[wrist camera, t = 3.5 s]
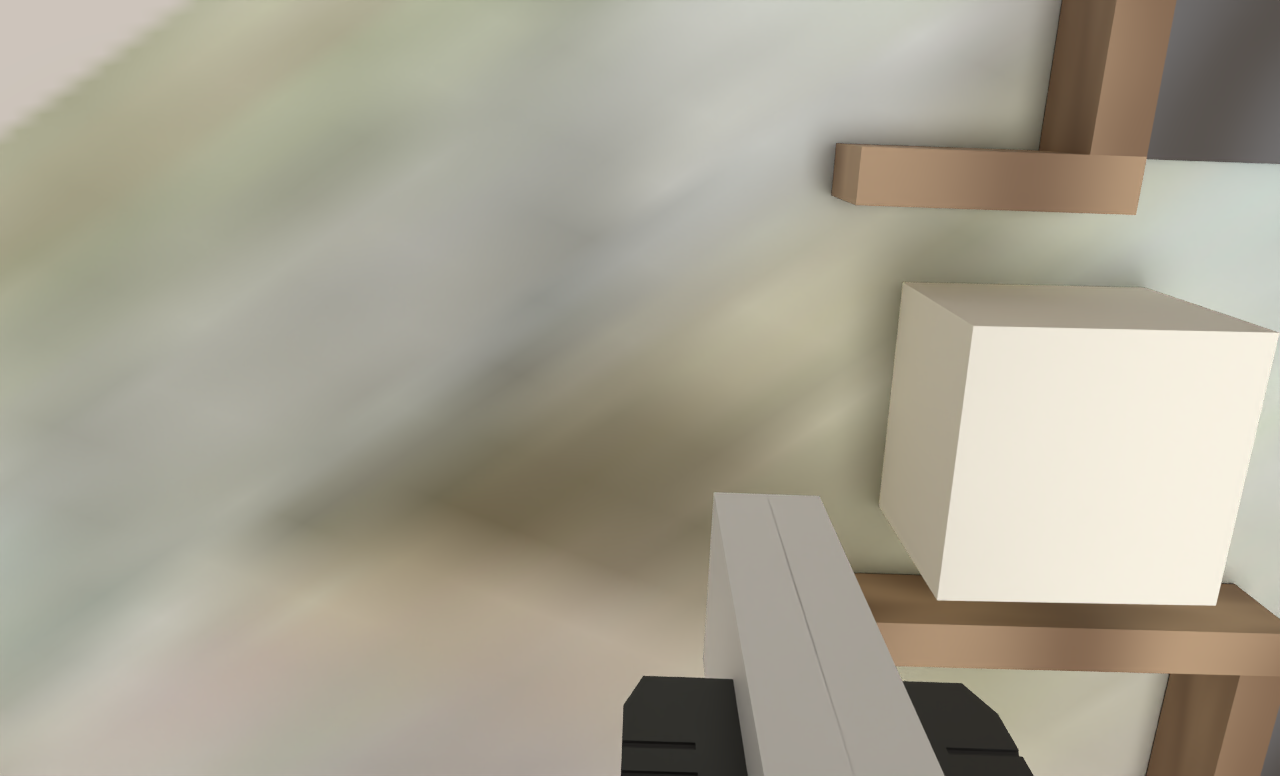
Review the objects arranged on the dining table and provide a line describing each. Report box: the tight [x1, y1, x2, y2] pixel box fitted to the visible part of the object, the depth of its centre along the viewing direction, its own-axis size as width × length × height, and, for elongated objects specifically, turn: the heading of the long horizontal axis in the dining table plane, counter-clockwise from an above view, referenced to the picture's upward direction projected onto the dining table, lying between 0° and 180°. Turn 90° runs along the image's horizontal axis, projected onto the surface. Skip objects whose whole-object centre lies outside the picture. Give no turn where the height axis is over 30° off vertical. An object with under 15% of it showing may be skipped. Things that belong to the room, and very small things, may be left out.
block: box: [879, 282, 1279, 606], centre depth 21 cm, size 6×6×5 cm
